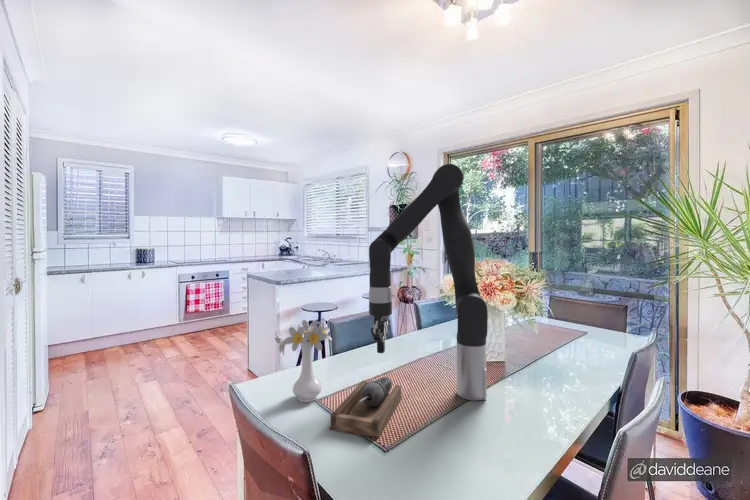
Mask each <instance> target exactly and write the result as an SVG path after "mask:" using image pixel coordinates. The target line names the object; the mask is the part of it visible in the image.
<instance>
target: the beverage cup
mask: <svg viewBox="0 0 750 500" xmlns="http://www.w3.org/2000/svg"><path fill="white" fill-rule="evenodd" d="M392 387H393V383H392V380H391V378H390V377H387V376H383V377H380V378H377V379H375V380H372V381H367V384H366V385H365V386H364V388H363V390H362V399H361V400H360V401H359V403H360V402H362V401H364V402H365V403H366V404H367V405H368V406H378V405H380V404H381V403H382V402H383V401H384V399H385V396H386V395H387V394H389V392H390V391H391V389H392Z"/></svg>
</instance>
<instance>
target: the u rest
mask: <svg viewBox="0 0 750 500" xmlns="http://www.w3.org/2000/svg"><path fill="white" fill-rule="evenodd" d="M367 383H368V380H362V381H361V382H360V383H359V384H358V385H357V386H356V387H355V388H354V390H352V392H351V393H350V394H348V396H347V397H346V398H345V399H344V400H343V401H342V402H341V403H340V405H339V406H337V408H336V409H335V410H334V411H333V412H332V413H331V414H330V426H329V430H330V431H335V432H338V433H339V432H340V433H346V434H351V435H355V436H362V437H366V436H368V437H367V438H371V437H373V438H372V439H376V438H377V439H378V440H380V437H381V436H382V434H383V432H384V431H385V429H384V428H386V427H387V425H388V423H389V422H390V420H391V418H392V416H393V414H394V413H395V412H396V409H397V408H398V406H399V404H400V402H401V401H402V399H403V395H402V385H401V384H399V385H398V384H395V385H394V388H393V389H392V390H391V392H390V393H387V395H386V396H385V399H384V401H383V402H382V403H381V404H380V405H378V406H368V405H367V404H366V403H365V402H364V401H362V402H360V403H359V401H360V400H361V399H362V390H363V388H364V386H365V385H366V384H367Z"/></svg>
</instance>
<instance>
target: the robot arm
mask: <svg viewBox="0 0 750 500" xmlns="http://www.w3.org/2000/svg"><path fill="white" fill-rule="evenodd" d="M463 183H464V172H463V170H462V168H461V167H460V166H458V165H457V164H454V163H446V164H443V165H441V166H440V167H438V168H437V170H436V171H435V172H434V173H433V175H432V178H431V180H430V181H429V183H428V184H427V185H426V187H424V188H423V191H422V192H421V193H420V194H419V195H417V197H416V198H415V199H414V200H413V201H412V202H411V203H410V204H408V205H407V206H406V207H405V208H404V209H403V210H402V211H401V212H399V213H398V215H397V216H395V218H394V220H392V221H391V222H390V224H388V226H387V227H386V228H385V229H384V231H383V232H382V233H381V234H379V235H378V236H377V237H376V238H375V239H374V240H373V241H372V242H371V243H370V244H369V246H368V247H369V248H368V257H369V259H368V261H369V276H368V277H369V290H368V303H369V304H368V314H369V316H373V322H372V325H373V327H371V328H370V332H371V336H372V338H373V341H374V342H376V353H377V354H383V353H385V351H386V347H385V346H386V345H385V344H386V343H385V342H386V339H387V337H388V334H389V329H390V323H391V320H389V319H388V316H391V315H392V313H393V291H392V275H391V259H392V256H391V255H392V252H393V251H395V249H396V248H397V247H398V245H400V244H401V242H403V241H405V240H406V239H407V237H409V236H410V235H411V234H412V233H413V232H414V230H416V228H418V226H419V225H420V224H421V223H422V222H423V221H424V219H425V218H426V217H427V216H428V215H430V213H431V212H432V210H433V209H434V208H436V206H437V207H438V210H439V217H440V226H441V232H442V233H441V234H442V241H443V245H444V250H445V256H446V261H447V264H448V266H449V267H448V268H449V270H450V273H451V276H452V281H453V287H454V299H455V301H454V303H455V309H456V313H457V332H456V395H458V397H459V398H462V399H464V400H468V401H473V402H474V401H476V402H477V401H482V400H483V401H487V337H488V324H489V323H488V317H489V316H488V314H489V313H488V312H489V311H488V306H487V303H486V301H485V300H484V299H483V298H482V297H481V293H480V291H479V286H478V283H477V279H476V278H477V277H476V253H475V251H476V250H475V245H474V240H473V235H472V231H471V228H470V224H469V223H468V221H467V218H466V216H465V213H464V212H463V209H462V205H461V197H460V189H461V186H462V185H463Z"/></svg>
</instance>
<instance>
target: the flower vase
mask: <svg viewBox="0 0 750 500" xmlns="http://www.w3.org/2000/svg"><path fill="white" fill-rule="evenodd" d="M320 321H321V322H320V324H319V326H317V325H318V323H319V322H318V320H314V321H312V322H311V323H310V324H309V322H308V321H307V320H305V319H303V320H302V321H301V323H300V322H299V324H298V326H297V329H295V328H294V327H293V326H290V327H289V328H288V332H289V334H290V336H289V337H286V338H285V339H284V338H283V337H281V336H280V335H279V334H278V333H277V332H274V334H275V336H276V337H274V340H275V342H276V343H278V344H279V345H278V346H279V347H278V351H279V353H280V354H281V353H282V356H285V348H286V345H289V344H292V345H291V351H292V352H295V351H297V349H298V348H299V344H300V347H301V348H300V349H301V357H302V358H301V372H300V375H299V377H298V379H297V380H296V381H295V382H294V384H293V386H292V393H293V395H295V397H296V398H297V400H298V401H299V402H301V403H311V402H314V401H316V400H317V399H318V396H319V395H320V393H321V392H322V390H323V385H322V382H321V381H320V380H319V378H317V376H316V375H315V373H314V369H313V361H312V351H313V347H315V348H316V349H317V350H318V351H322V350H323V344H322V343H321V342H320V341H324V340H326V339H329V341H333V339H332V337H331V336H330V334H329V333H330V330H331V329H330V327H328V326H325V323H324V322H325V321H324V320H323V319H321V320H320ZM301 325H302V326H301Z"/></svg>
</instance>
